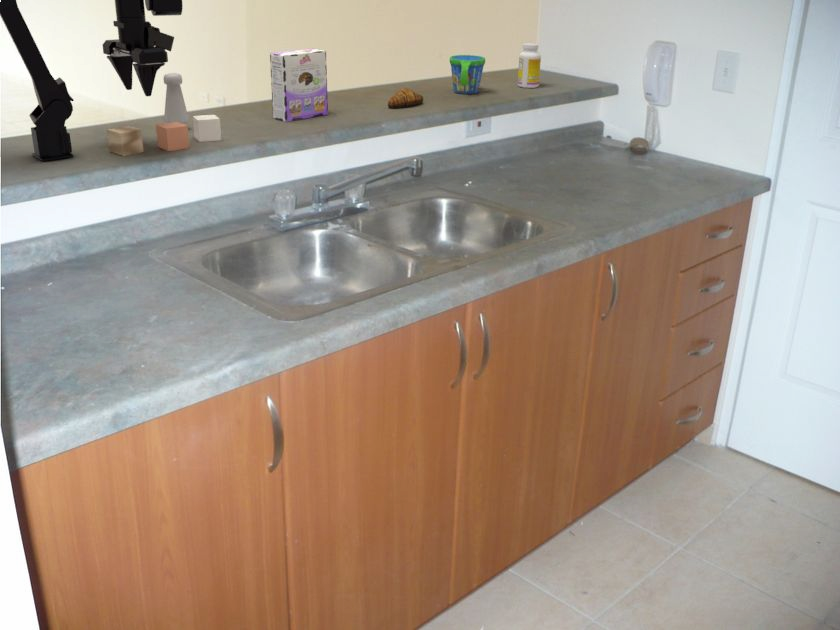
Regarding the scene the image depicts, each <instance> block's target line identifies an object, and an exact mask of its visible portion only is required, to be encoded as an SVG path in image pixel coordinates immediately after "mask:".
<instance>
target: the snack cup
mask: <svg viewBox="0 0 840 630" xmlns="http://www.w3.org/2000/svg"><path fill="white" fill-rule="evenodd" d="M449 63H450V67H451V70H450V71H451V79H452V87H453V91H454V93H457V94H460V95H475V94H477V93H478V92H479V90H480V86H481V81H482V77H483V76H482V74H483V73H484V72H483V70H484V66H485V64H486V58H485V57H484V56H480V55H471V54H457V55H451V56H450V57H449Z"/></svg>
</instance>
